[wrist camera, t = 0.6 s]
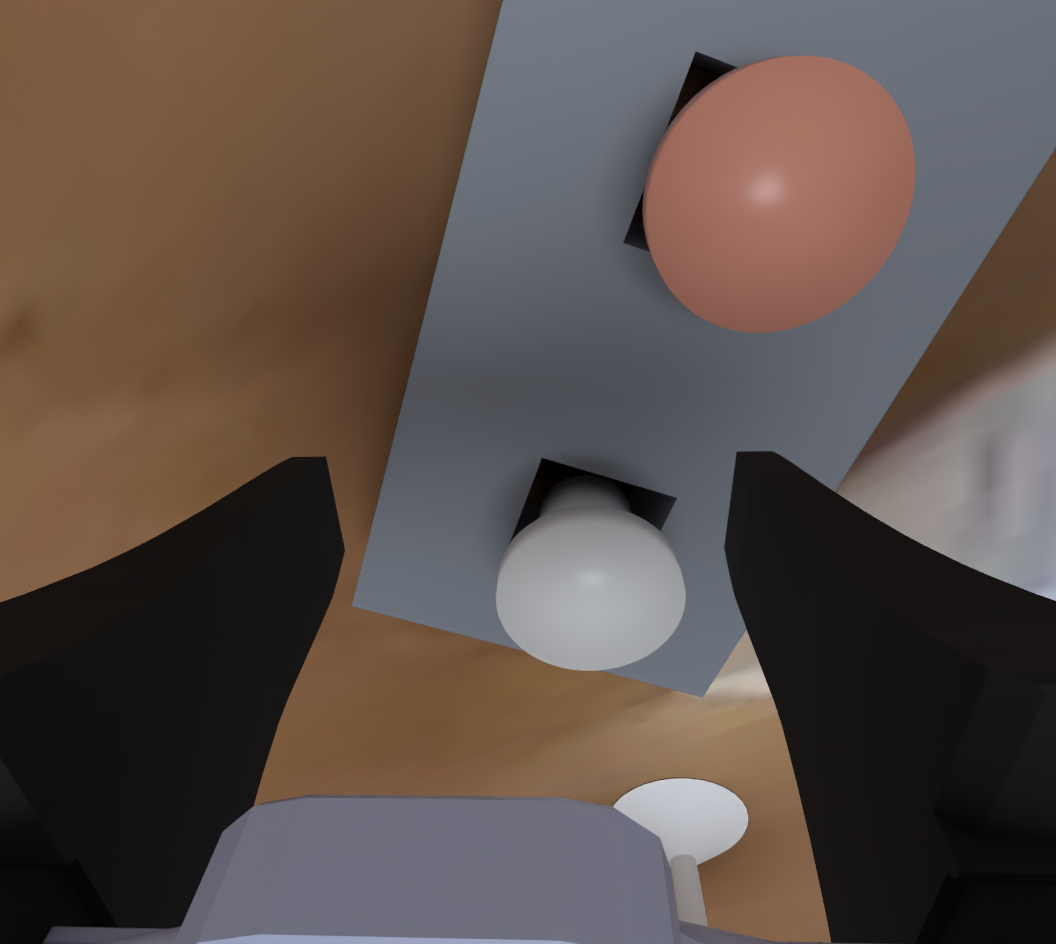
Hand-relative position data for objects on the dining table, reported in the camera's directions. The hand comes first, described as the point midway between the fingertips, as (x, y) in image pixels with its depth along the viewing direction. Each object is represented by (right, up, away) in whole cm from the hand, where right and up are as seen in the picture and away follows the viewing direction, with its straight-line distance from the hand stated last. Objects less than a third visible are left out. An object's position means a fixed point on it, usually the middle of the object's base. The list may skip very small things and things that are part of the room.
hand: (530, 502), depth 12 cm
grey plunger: (+2, -1, +9) cm, 9 cm away
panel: (+3, +5, +9) cm, 11 cm away
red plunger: (+5, +7, +4) cm, 10 cm away
